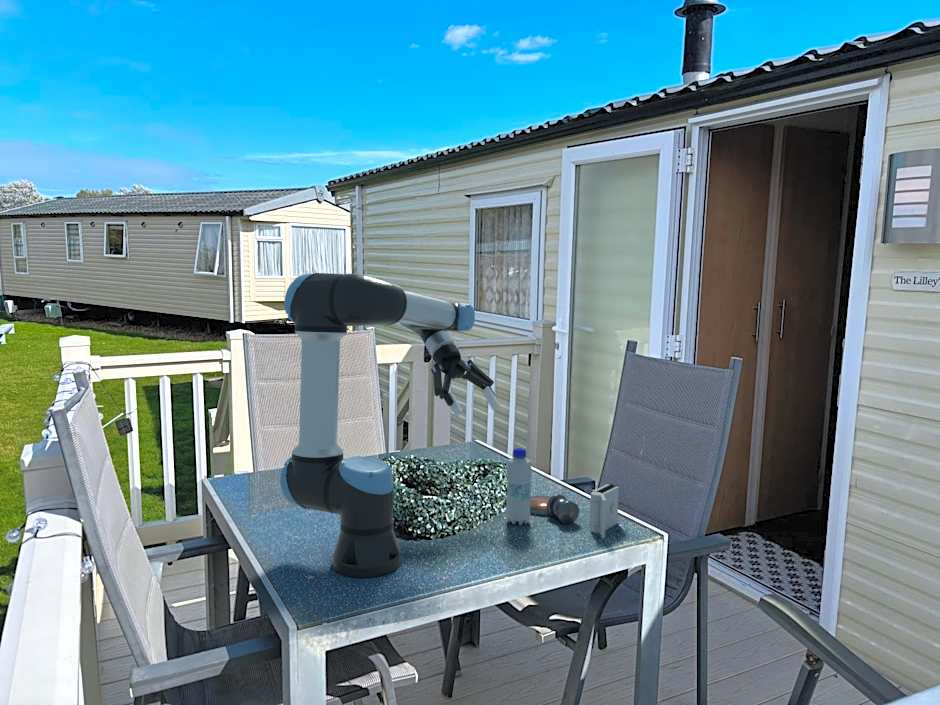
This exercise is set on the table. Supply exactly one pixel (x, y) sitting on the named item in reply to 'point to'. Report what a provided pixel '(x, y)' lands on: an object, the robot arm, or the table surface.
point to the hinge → (604, 508)
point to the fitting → (554, 507)
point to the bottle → (518, 487)
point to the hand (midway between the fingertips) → (478, 410)
